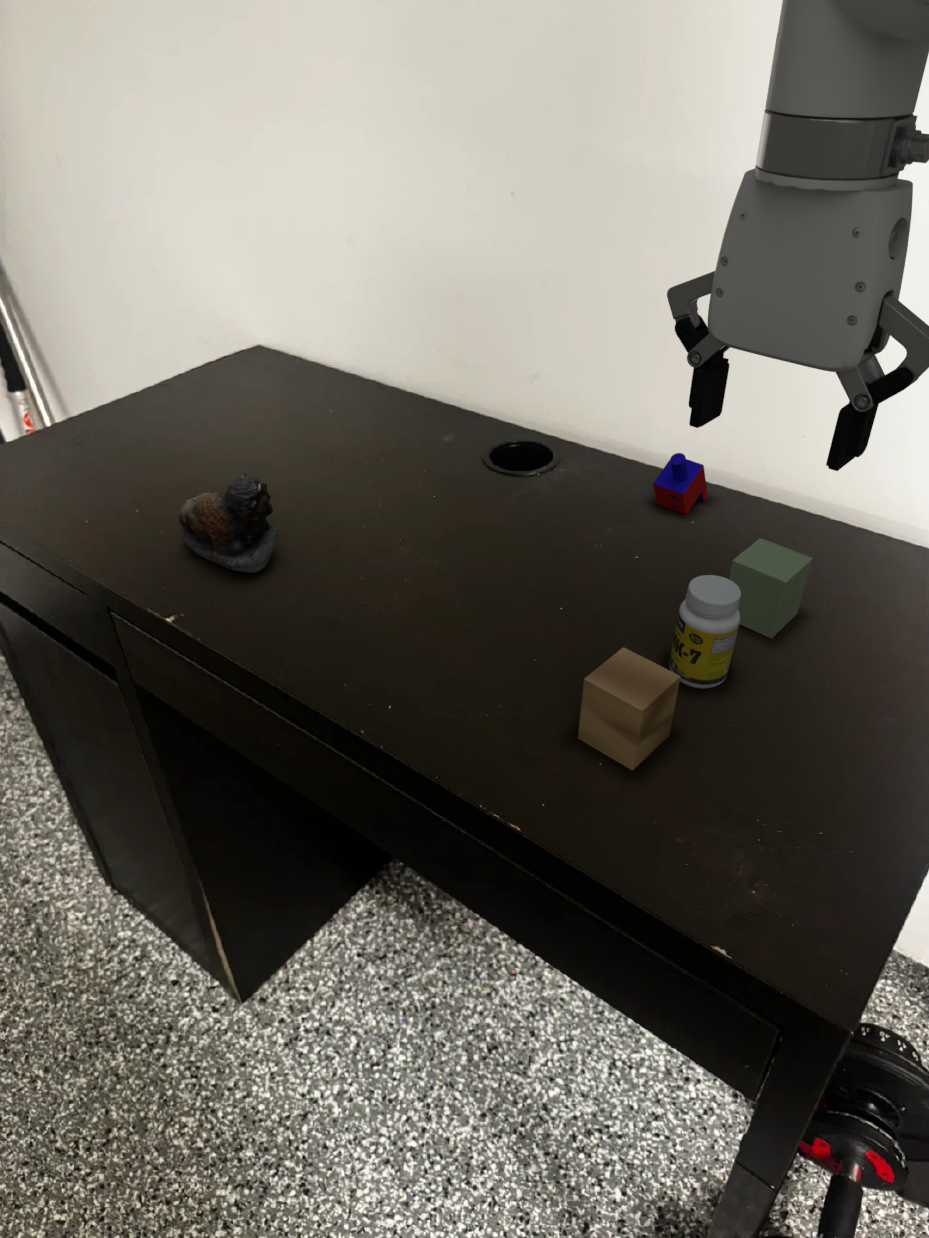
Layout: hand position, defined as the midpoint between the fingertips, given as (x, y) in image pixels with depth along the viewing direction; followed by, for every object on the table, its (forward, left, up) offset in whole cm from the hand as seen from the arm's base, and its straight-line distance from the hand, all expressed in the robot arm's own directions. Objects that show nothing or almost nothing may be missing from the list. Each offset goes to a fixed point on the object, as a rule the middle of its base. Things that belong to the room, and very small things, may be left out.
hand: (770, 441), depth 59 cm
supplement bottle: (+1, -3, -22) cm, 22 cm away
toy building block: (-2, -31, -22) cm, 38 cm away
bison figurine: (+43, -19, -22) cm, 52 cm away
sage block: (-6, -11, -22) cm, 25 cm away
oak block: (+8, +5, -22) cm, 24 cm away
